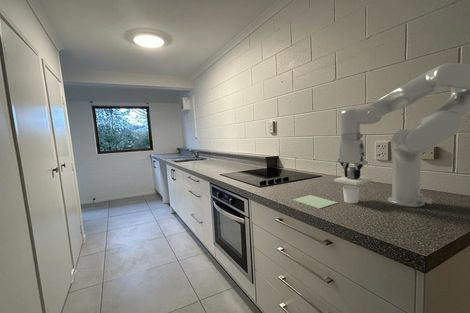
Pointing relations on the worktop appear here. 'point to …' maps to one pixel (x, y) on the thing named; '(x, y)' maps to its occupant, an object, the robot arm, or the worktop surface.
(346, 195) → the white cup
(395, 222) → the worktop surface
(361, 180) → the lid
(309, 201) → the mat
